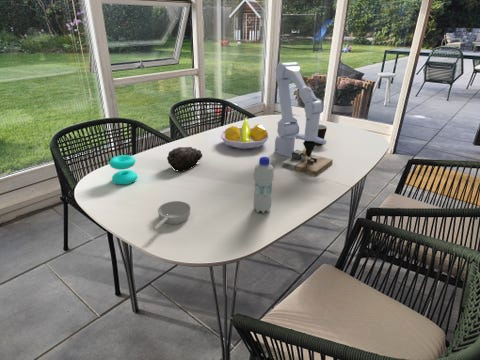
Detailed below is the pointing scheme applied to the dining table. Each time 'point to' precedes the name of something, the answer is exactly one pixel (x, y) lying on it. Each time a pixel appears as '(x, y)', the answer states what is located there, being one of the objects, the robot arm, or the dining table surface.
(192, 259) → the dining table surface
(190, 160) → the pine cone
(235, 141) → the fruit bowl
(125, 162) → the donuts
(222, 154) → the dining table surface
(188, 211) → the small pan
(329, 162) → the wooden latch board
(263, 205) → the bottle
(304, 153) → the bolt
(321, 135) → the coffee mug
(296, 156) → the lock hardware
